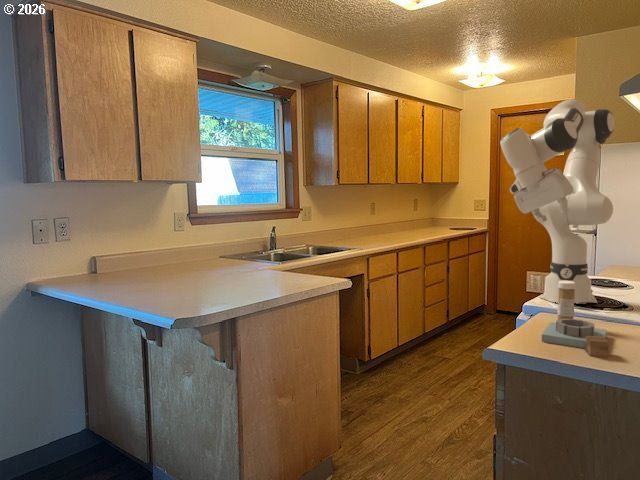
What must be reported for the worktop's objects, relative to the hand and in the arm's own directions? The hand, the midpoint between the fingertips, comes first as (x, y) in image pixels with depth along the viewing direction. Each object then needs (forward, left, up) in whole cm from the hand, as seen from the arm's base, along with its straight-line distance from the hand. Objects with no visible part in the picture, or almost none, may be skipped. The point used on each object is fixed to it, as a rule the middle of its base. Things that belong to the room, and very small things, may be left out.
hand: (554, 217), depth 143 cm
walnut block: (+27, +14, -32) cm, 45 cm away
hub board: (+17, +8, -32) cm, 37 cm away
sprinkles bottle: (+4, +4, -32) cm, 33 cm away
